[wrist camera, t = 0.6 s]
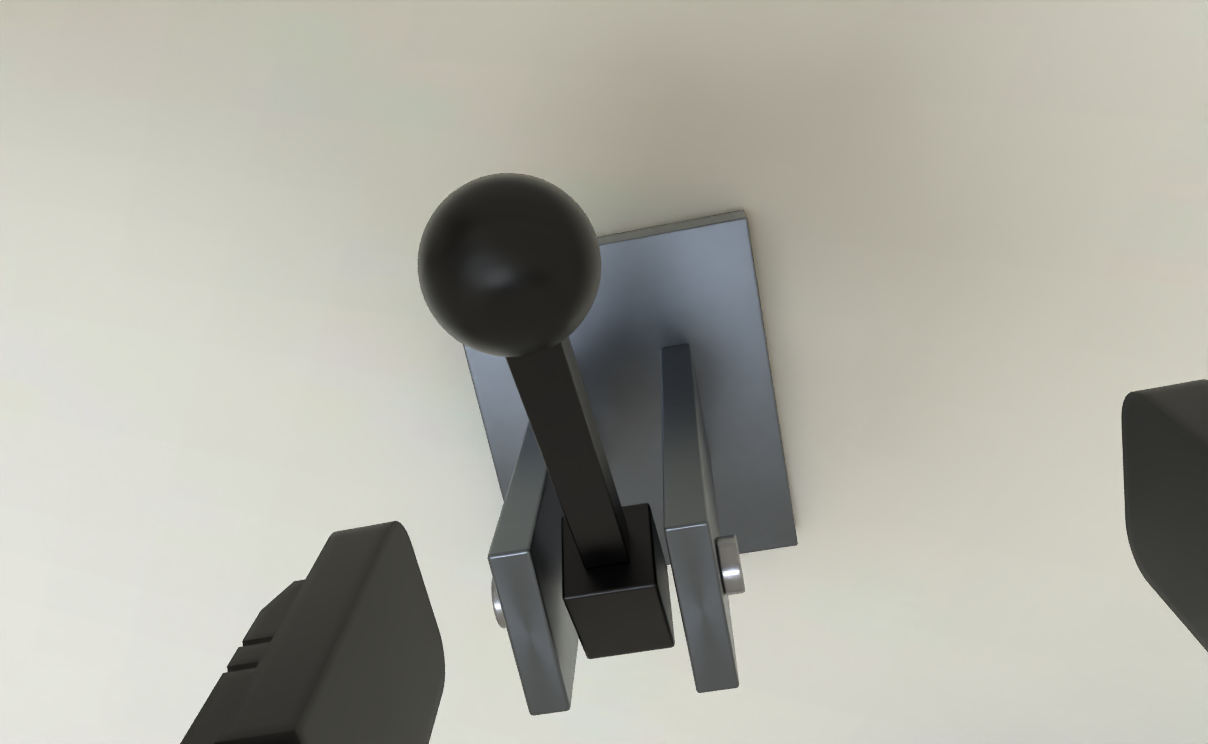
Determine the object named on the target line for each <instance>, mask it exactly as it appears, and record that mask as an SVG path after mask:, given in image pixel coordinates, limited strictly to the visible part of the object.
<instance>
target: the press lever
mask: <svg viewBox="0 0 1208 744" xmlns="http://www.w3.org/2000/svg"><path fill="white" fill-rule="evenodd" d="M418 275H419V281H420V287H421V290H422V293H423V296H424V299H425V301H426V304H427V306H428V308H429V309H430V311H431V313H432V314H433V316H434V317H435V318H436V320H437V321H438V323H439V324H440V325H441V326H442V327H443V328H444V329H445V330H446V331H447V332H448V333H449V334H450V335H451V336H453V337H454V338H455V339H456V340H458V341H459V342H461V343H462V344H464V345H466V346H468V347H470V348H472V349H474V350H477V351H479V352H482V353H485V354H489V355H493V356H500V357H505V358H506V361H507V364H508V366H509V369H510V372H511V374H512V377H513V380H514V382H515V385H516V388H517V390H518V393H519V396H520V398H521V401H522V404H523V406H524V409H525V411H526V414H527V417H528V419H529V422H530V425H531V427H532V430H533V433H534V435H535V438H536V441H537V443H538V446H539V449H540V451H541V454H542V457H543V459H544V462H545V465H546V467H547V470H548V473H549V475H550V478H551V481H552V483H553V486H554V489H555V491H556V494H557V497H558V499H559V502H560V505H561V507H562V510H563V513H564V515H565V516H563V517H562V519H561V544H562V599H563V601H564V603H565V606H566V608H567V611H568V613H569V615H570V618H571V620H572V623H573V625H574V627H575V630H576V632H577V634H578V637H579V639H580V642H581V644H582V646H583V649H584V651H585V654H586V656H587V658H588V659H594V658H601V657H608V656H615V655H622V654H629V653H636V652H643V651H650V650H657V649H664V648H671V647H674V644H675V640H674V630H673V621H672V611H671V601H670V592H669V582H668V572H667V565H666V562H665V558H664V554H663V551H662V547H661V544H660V540H659V536H658V533H657V529H656V525H655V522H654V518H653V515H652V511H651V507H650V505H649V504H648V503H641V504H635V505H628V506H621V503H620V500H619V497H618V494H617V490H616V487H615V484H614V481H613V477H612V474H611V471H610V468H609V464H608V461H607V458H606V455H605V451H604V448H603V445H602V442H601V438H600V435H599V432H598V429H597V425H596V422H595V419H594V416H593V412H592V409H591V406H590V403H589V399H588V396H587V393H586V390H585V386H584V383H583V380H582V377H581V374H580V370H579V367H578V364H577V361H576V357H575V354H574V351H573V348H572V344H571V341H570V338H569V335H571V334H572V333H573V332H574V331H575V330H576V329H577V328H578V327H579V325H580V324H581V323H582V322H583V320H584V319H585V318H586V316H587V315H588V313H589V311H590V309H591V307H592V305H593V303H594V301H595V298H596V295H597V292H598V289H599V285H600V279H601V254H600V248H599V243H598V239H597V237H596V234H595V231H594V229H593V226H592V224H591V222H590V221H589V219H588V217H587V216H586V214H585V213H584V212H583V210H582V209H581V208H580V206H579V205H578V204H577V203H576V202H575V201H574V200H573V199H572V198H571V197H570V196H569V195H568V194H566V193H565V192H564V191H562V190H561V189H560V188H558V187H556V186H555V185H553V184H551V183H549V182H547V181H545V180H543V179H540V178H537V177H533V176H529V175H524V174H515V173H500V174H493V175H488V176H484V177H480V178H478V179H475V180H473V181H470V182H468V183H467V184H465V185H463V186H461V187H460V188H458V189H457V190H455V191H454V192H452V193H451V194H450V195H449V196H448V197H447V198H446V199H445V200H444V201H443V202H442V203H441V204H440V205H439V206H438V207H437V209H436V210H435V211H434V213H433V214H432V216H431V218H430V220H429V221H428V223H427V225H426V227H425V229H424V232H423V235H422V238H421V242H420V246H419V252H418Z"/></svg>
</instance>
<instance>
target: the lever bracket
mask: <svg viewBox="0 0 1208 744" xmlns="http://www.w3.org/2000/svg"><path fill="white" fill-rule="evenodd" d="M597 239H598V243H599V248H600V254H601V279H600V285H599V289H598V292H597V295H596V298H595V301H594V303H593V305H592V307H591V309H590V311H589V313H588V315H587V316H586V318H585V319H584V320H583V322H582V323H581V324H580V325H579V327H578V328H577V329H576V330H575V331H574V332H573V333H572V334H571V335H569V338H570V341H571V344H572V348H573V351H574V354H575V357H576V361H577V364H578V367H579V370H580V374H581V377H582V380H583V383H584V386H585V390H586V393H587V396H588V399H589V403H590V406H591V409H592V412H593V416H594V419H595V422H596V425H597V429H598V432H599V435H600V438H601V442H602V445H603V448H604V451H605V455H606V458H607V461H608V464H609V468H610V471H611V474H612V477H613V481H614V484H615V487H616V490H617V494H618V497H619V500H620V503H621V506H628V505H635V504H641V503H648V504H649V505H650V507H651V511H652V515H653V518H654V522H655V525H656V529H657V533H658V536H659V540H660V544H661V547H662V551H663V554H664V558H665V562H666V565H669V564H671V568H672V573H673V578H674V582H675V587H676V592H677V597H678V602H679V607H680V612H681V617H682V622H683V627H684V632H685V637H686V641H687V646H688V651H689V656H690V661H691V666H692V671H693V676H694V681H695V686H696V690H697V692H698V693H703V692H710V691H717V690H724V689H732V688H737V687H738V686H739V679H738V671H737V663H736V655H735V647H734V640H733V632H732V624H731V616H730V608H729V600H728V595H732V594H739V593H744V592H745V586H744V579H743V573H742V568H741V562H740V556H739V554H742V553H748V552H755V551H761V550H768V549H775V548H781V547H788V546H794V545H797V544H798V543H797V536H796V530H795V523H794V517H793V510H792V504H791V498H790V491H789V485H788V478H787V472H786V465H785V459H784V453H783V446H782V440H781V433H780V427H779V421H778V414H777V408H776V401H775V395H774V388H773V382H772V376H771V369H770V363H769V356H768V350H767V343H766V337H765V331H764V324H763V318H762V311H761V305H760V298H759V292H758V286H757V279H756V273H755V266H754V260H753V254H752V247H751V241H750V234H749V228H748V221H747V217H746V215H745V213H744V211H743V210H740V211H735V212H730V213H724V214H719V215H714V216H708V217H703V218H698V219H693V220H687V221H682V222H677V223H671V224H666V225H661V226H656V227H650V228H645V229H640V230H634V231H629V232H624V233H619V234H613V235H608V236H603V237H597ZM463 346H464V350H465V354H466V358H467V362H468V365H469V369H470V373H471V377H472V381H473V385H474V389H475V392H476V396H477V400H478V404H479V408H480V412H481V416H482V419H483V423H484V427H485V431H486V435H487V439H488V443H489V446H490V450H491V454H492V458H493V462H494V466H495V470H496V473H497V477H498V481H499V485H500V489H501V493H502V497H503V500H504V504H503V507H502V511H501V514H500V517H499V521H498V524H497V527H496V531H495V534H494V537H493V540H492V544H491V547H490V550H489V554H488V561H489V565H490V569H491V572H492V576H493V578H492V587H491V589H492V602H493V608H494V613H495V616H496V619H497V622H498V624H499V625H500V627H502V628H507V631H508V635H509V639H510V643H511V646H512V650H513V654H514V657H515V661H516V665H517V668H518V672H519V676H520V679H521V683H522V687H523V691H524V694H525V698H526V702H527V705H528V709H529V712H530V714H531V715H540V714H547V713H554V712H562V711H567V710H569V709H570V705H571V697H572V689H573V680H574V672H575V663H576V655H577V647H578V638H579V637H578V634H577V632H576V630H575V627H574V625H573V623H572V620H571V618H570V615H569V613H568V611H567V608H566V606H565V603H564V601H563V599H562V544H561V519H562V517H563V516H565V515H564V513H563V510H562V507H561V505H560V502H559V499H558V497H557V494H556V491H555V489H554V486H553V483H552V481H551V478H550V475H549V473H548V470H547V467H546V465H545V462H544V459H543V457H542V454H541V451H540V449H539V446H538V443H537V441H536V438H535V435H534V433H533V430H532V427H531V425H530V422H529V419H528V417H527V414H526V411H525V409H524V406H523V404H522V401H521V398H520V396H519V393H518V390H517V388H516V385H515V382H514V380H513V377H512V374H511V372H510V369H509V366H508V364H507V361H506V358H505V357H500V356H493V355H489V354H485V353H482V352H479V351H477V350H474V349H472V348H470V347H468V346H466V345H464V344H463Z"/></svg>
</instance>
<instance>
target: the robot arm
mask: <svg viewBox="0 0 1208 744" xmlns="http://www.w3.org/2000/svg"><path fill="white" fill-rule="evenodd" d="M1122 445H1123V470H1124V496H1125V520H1126V530H1127V535H1128V540H1129V544H1130V547H1131V551H1132V553H1133V556H1134V559H1135V561H1136V563H1137V566H1138V568H1139V570H1140V571H1141V573H1142V575H1143V576H1144V578H1145V579H1146V581H1147V582H1148V583H1149V584H1150V585H1151V587H1152V588H1153V589H1154V590H1155V591H1156V592H1157V594H1158V595H1159V596H1160V597H1161V598H1162V599H1163V600H1164V602H1165V603H1166V604H1167V605H1168V606H1169V607H1170V609H1171V610H1172V611H1173V612H1174V613H1175V614H1176V616H1177V617H1178V618H1179V619H1180V620H1181V621H1182V623H1183V624H1184V625H1185V626H1186V627H1187V628H1188V630H1189V631H1190V632H1191V633H1192V634H1193V635H1194V637H1195V638H1196V639H1197V640H1198V641H1199V642H1200V643H1201V645H1202V646H1203V647H1204V648H1205V649H1206V650H1207V652H1208V380H1205V379H1203V380H1197V381H1191V382H1186V383H1180V384H1174V385H1169V386H1163V387H1157V388H1152V389H1146V390H1140V391H1135V392H1130V393H1129V394H1128V395H1127V396H1126V397H1125V400H1124V402H1123V406H1122ZM242 642H243V647H239V648H238V649H237V651H236V653H235V654H234V656H233V657H232V659H231V661H230V662H229V664H228V666H227V669H228V672H227V673H223V674H222V676H221V677H220V679H219V681H218V682H217V684H216V686H215V687H214V689H213V691H212V692H211V694H210V696H209V697H208V699H207V700H206V702H205V704H204V705H203V707H202V709H201V710H200V712H199V714H198V715H197V717H196V719H195V720H194V722H193V724H192V725H191V727H190V729H189V730H188V732H187V734H186V735H185V737H184V739H183V740H182V742H181V743H180V744H429V740H430V736H431V733H432V729H433V725H434V722H435V718H436V715H437V711H438V707H439V704H440V700H441V697H442V693H443V688H444V681H445V660H444V651H443V645H442V640H441V636H440V632H439V629H438V626H437V623H436V619H435V616H434V613H433V610H432V607H431V604H430V601H429V597H428V594H427V591H426V588H425V585H424V582H423V579H422V575H421V572H420V569H419V566H418V563H417V560H416V556H415V553H414V550H413V547H412V544H411V541H410V538H409V536H408V534H407V531H406V530H405V528H404V527H403V525H402V524H401V523H399V522H397V521H393V522H388V523H382V524H376V525H371V526H365V527H360V528H354V529H348V530H343V531H337V532H334V533H332V534H331V536H330V537H329V539H328V540H327V542H326V544H325V546H324V547H323V549H322V551H321V553H320V555H319V556H318V558H317V560H316V562H315V563H314V565H313V567H312V569H311V571H310V572H309V574H308V576H307V578H306V580H300V581H294V582H293V583H292V584H291V585H289V586H288V587H287V588H286V589H285V590H284V591H283V592H281V593H280V594H279V595H278V596H277V597H276V598H275V599H274V600H272V601H271V602H270V603H269V604H268V605H267V606H266V607H264V608H263V609H262V610H261V611H260V613H259V614H258V616H257V618H256V619H255V621H254V623H253V624H252V626H251V628H250V629H249V631H248V633H247V634H246V636H245V638H244V639H243V641H242Z"/></svg>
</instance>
